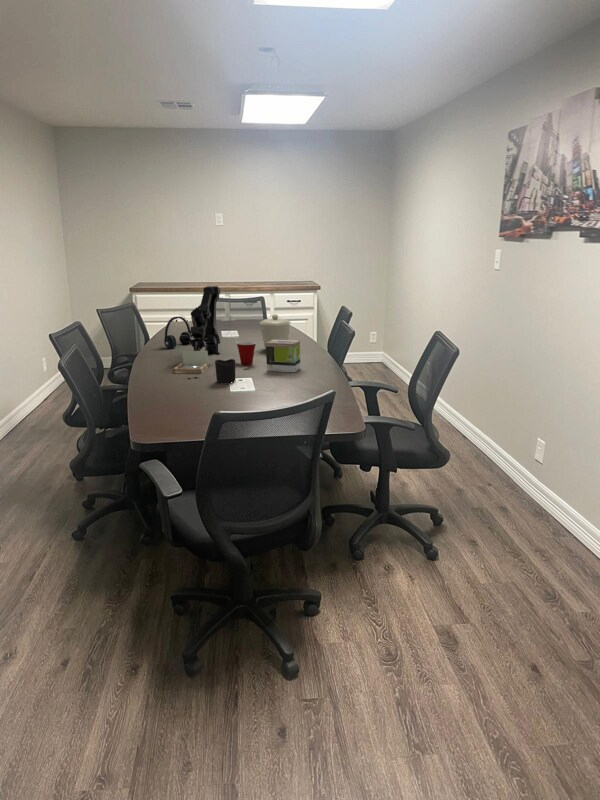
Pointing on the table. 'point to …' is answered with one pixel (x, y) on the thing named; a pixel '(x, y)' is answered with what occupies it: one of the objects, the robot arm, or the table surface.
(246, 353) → the plastic cup
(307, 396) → the table surface
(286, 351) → the tea box
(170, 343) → the headphones
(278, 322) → the canister
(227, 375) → the pen holder
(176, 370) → the housing
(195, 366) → the disc
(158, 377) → the table surface
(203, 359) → the drawer
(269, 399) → the table surface
